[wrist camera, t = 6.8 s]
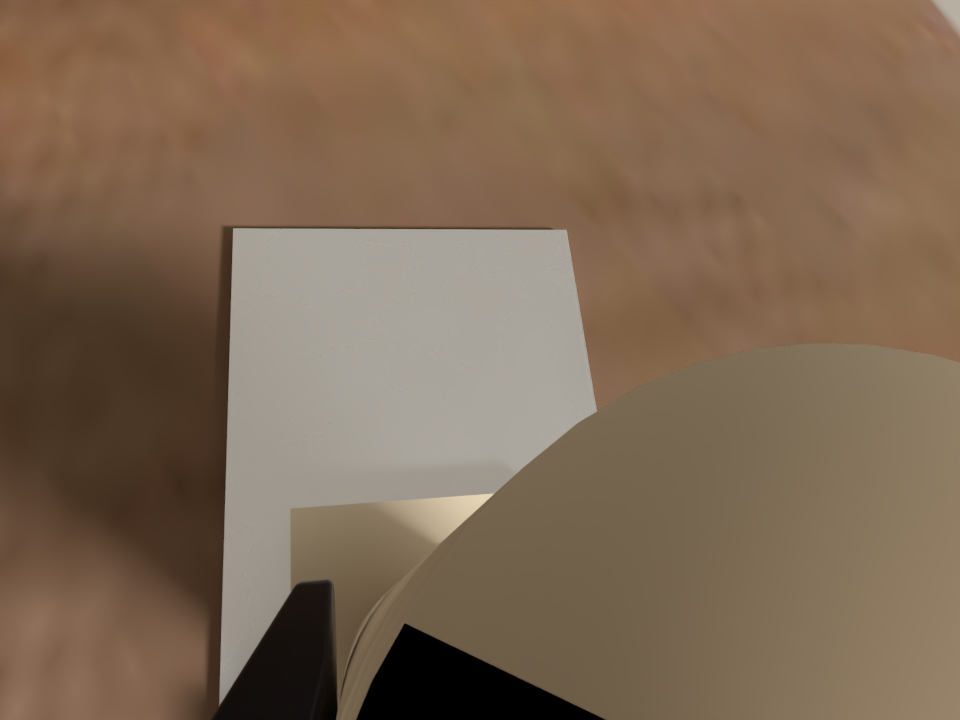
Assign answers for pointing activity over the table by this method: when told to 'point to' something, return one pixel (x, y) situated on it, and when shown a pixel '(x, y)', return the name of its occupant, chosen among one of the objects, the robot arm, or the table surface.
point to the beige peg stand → (676, 558)
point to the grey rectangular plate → (384, 383)
